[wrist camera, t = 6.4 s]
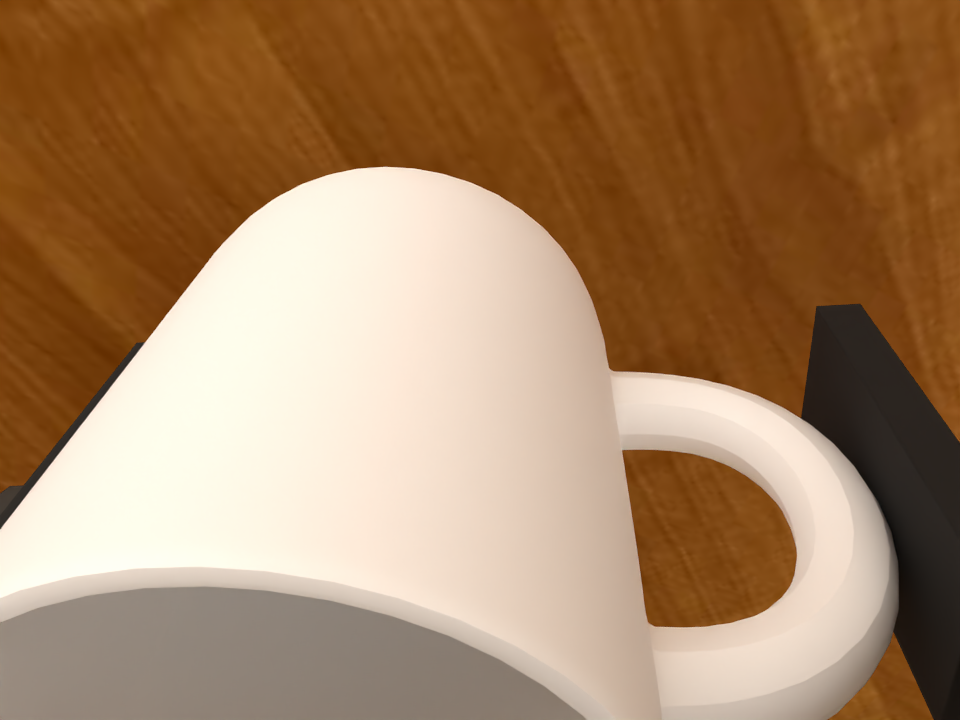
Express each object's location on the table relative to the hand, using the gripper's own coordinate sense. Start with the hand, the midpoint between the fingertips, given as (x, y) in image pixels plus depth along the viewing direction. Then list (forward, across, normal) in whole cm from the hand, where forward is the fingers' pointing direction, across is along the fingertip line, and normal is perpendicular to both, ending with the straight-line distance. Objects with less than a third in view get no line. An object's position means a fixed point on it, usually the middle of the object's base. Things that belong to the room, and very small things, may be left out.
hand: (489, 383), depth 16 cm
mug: (+2, 0, 0) cm, 2 cm away
